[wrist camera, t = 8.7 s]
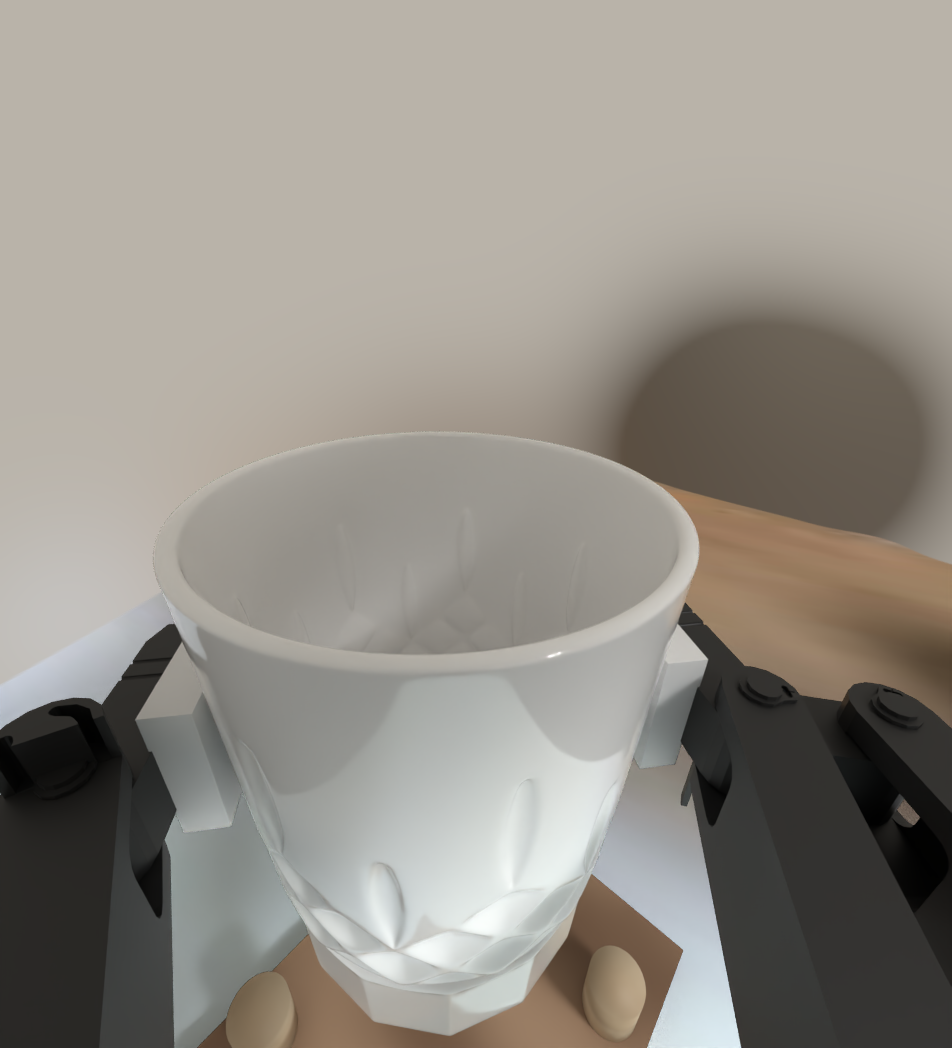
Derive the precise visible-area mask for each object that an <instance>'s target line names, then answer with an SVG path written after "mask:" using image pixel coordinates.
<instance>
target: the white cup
mask: <svg viewBox="0 0 952 1048" xmlns="http://www.w3.org/2000/svg"><path fill="white" fill-rule="evenodd" d="M698 559H699V540H698V535H697V531H696V529H695V526H694V524H693V522H692V520H691V518H690V516H689V515H688V513H687V512H686V511H685V509H684V508H683V507H682V506H681V505H680V503H679V502H678V501H677V500H676V499H675V498H674V497H673V496H671V495H670V494H669V493H668V492H667V491H666V490H664V489H663V488H662V487H660V486H659V485H657V484H656V483H655V482H653V481H651V480H650V479H648V478H646V477H645V476H643V475H641V474H639V473H638V472H636V471H633V470H632V469H630V468H627V467H625V466H623V465H621V464H618V463H616V462H614V461H611V460H609V459H606V458H603V457H600V456H597V455H595V454H592V453H588V452H585V451H582V450H578V449H575V448H571V447H567V446H563V445H558V444H554V443H549V442H544V441H539V440H533V439H527V438H521V437H513V436H505V435H496V434H483V433H470V432H404V433H390V434H378V435H368V436H360V437H352V438H346V439H340V440H333V441H328V442H323V443H318V444H314V445H309V446H304V447H300V448H297V449H293V450H289V451H285V452H282V453H278V454H275V455H272V456H269V457H266V458H263V459H260V460H257V461H255V462H252V463H250V464H247V465H245V466H242V467H240V468H238V469H235V470H233V471H231V472H229V473H227V474H225V475H223V476H221V477H219V478H217V479H215V480H214V481H212V482H210V483H209V484H207V485H205V486H204V487H202V488H201V489H199V490H198V491H197V492H195V493H194V494H192V495H191V496H190V497H189V498H187V499H186V500H185V501H184V502H183V503H182V504H181V505H180V506H178V507H177V508H176V510H175V511H174V512H173V513H172V514H171V515H170V516H169V518H168V519H167V520H166V522H165V523H164V525H163V526H162V528H161V530H160V532H159V534H158V536H157V539H156V542H155V546H154V552H153V565H154V571H155V575H156V578H157V581H158V584H159V586H160V589H161V591H162V594H163V596H164V598H165V601H166V603H167V606H168V608H169V611H170V613H171V615H172V618H173V620H174V623H175V625H176V628H177V630H178V633H179V635H180V638H181V640H182V642H183V645H184V647H185V650H186V652H187V655H188V657H189V660H190V662H191V665H192V667H193V670H194V672H195V674H196V677H197V679H198V682H199V684H200V687H201V689H202V692H203V694H204V697H205V699H206V702H207V704H208V707H209V709H210V712H211V714H212V717H213V719H214V722H215V724H216V727H217V729H218V732H219V734H220V737H221V739H222V742H223V744H224V747H225V749H226V752H227V754H228V757H229V760H230V762H231V765H232V767H233V770H234V772H235V775H236V777H237V780H238V782H239V785H240V787H241V790H242V793H243V795H244V798H245V800H246V803H247V805H248V808H249V810H250V813H251V815H252V818H253V820H254V822H255V825H256V827H257V830H258V832H259V834H260V836H261V838H262V840H263V842H264V844H265V845H266V847H267V849H268V851H269V854H270V857H271V859H272V862H273V864H274V867H275V869H276V871H277V874H278V876H279V878H280V881H281V883H282V885H283V888H284V890H285V891H286V893H287V895H288V897H289V898H290V900H291V902H292V903H293V905H294V907H295V908H296V910H297V912H298V913H299V915H300V917H301V918H302V920H303V921H304V923H305V925H306V928H307V931H308V933H309V936H310V939H311V942H312V945H313V947H314V950H315V953H316V956H317V958H318V961H319V963H320V965H321V967H322V968H323V969H324V970H325V971H326V972H327V973H328V974H329V975H330V977H331V978H332V979H333V980H334V981H335V982H336V983H337V984H338V985H339V986H340V987H341V988H342V989H343V990H344V991H345V992H346V993H347V994H348V995H349V996H350V997H351V998H352V1000H353V1001H354V1002H355V1003H356V1004H357V1005H358V1006H359V1007H360V1008H361V1009H362V1010H363V1011H364V1012H365V1013H366V1014H367V1015H368V1016H369V1017H370V1018H371V1019H372V1020H373V1021H374V1022H377V1023H382V1024H388V1025H393V1026H398V1027H404V1028H409V1029H414V1030H420V1031H425V1032H430V1033H435V1034H441V1035H446V1036H452V1035H454V1034H456V1033H458V1032H460V1031H463V1030H465V1029H467V1028H469V1027H471V1026H473V1025H475V1024H478V1023H480V1022H482V1021H484V1020H486V1019H488V1018H491V1017H493V1016H495V1015H497V1014H499V1013H501V1012H503V1011H506V1010H508V1009H510V1008H512V1007H514V1006H516V1005H518V1004H521V1003H522V1002H523V1001H524V1000H525V998H526V997H527V995H528V994H529V992H530V991H531V989H532V988H533V987H534V985H535V984H536V982H537V981H538V979H539V978H540V976H541V975H542V973H543V972H544V971H545V969H546V968H547V966H548V965H549V963H550V962H551V960H552V959H553V957H554V956H555V955H556V953H557V952H558V950H559V949H560V947H561V946H562V944H563V943H564V941H565V940H566V938H567V936H568V934H569V931H570V927H571V924H572V921H573V917H574V914H575V911H576V907H577V904H578V901H579V899H580V897H581V895H582V893H583V891H584V889H585V887H586V885H587V882H588V880H589V878H590V876H591V874H592V871H593V869H594V867H595V864H596V862H597V860H598V857H599V855H600V851H601V848H602V845H603V842H604V839H605V835H606V832H607V830H608V827H609V825H610V823H611V820H612V818H613V816H614V813H615V810H616V808H617V805H618V802H619V800H620V797H621V794H622V791H623V788H624V785H625V782H626V779H627V776H628V773H629V770H630V767H631V764H632V761H633V758H634V755H635V751H636V748H637V745H638V742H639V739H640V736H641V733H642V730H643V727H644V724H645V721H646V718H647V714H648V711H649V708H650V705H651V702H652V699H653V696H654V693H655V690H656V687H657V684H658V681H659V678H660V675H661V672H662V669H663V666H664V663H665V660H666V657H667V654H668V651H669V648H670V645H671V642H672V639H673V636H674V633H675V630H676V627H677V624H678V621H679V618H680V615H681V612H682V609H683V606H684V603H685V600H686V597H687V594H688V591H689V588H690V585H691V582H692V579H693V577H694V574H695V571H696V568H697V564H698Z"/></svg>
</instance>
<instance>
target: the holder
mask: <svg viewBox="0 0 952 1048" xmlns="http://www.w3.org/2000/svg"><path fill="white" fill-rule="evenodd" d="M682 953H683V950H682V949H681V948H680V947H679V946H678V945H676V944H675V943H674V942H673V941H672V940H670V939H669V938H668V937H667V936H666V935H664V934H663V933H662V932H661V931H660V930H658V929H657V928H656V927H655V926H654V925H652V924H651V923H650V922H649V921H648V920H646V919H645V918H644V917H643V916H642V915H640V914H639V913H638V912H637V911H636V910H634V909H633V908H632V907H631V906H630V905H628V904H627V903H626V902H625V901H624V900H622V899H621V898H620V897H619V896H617V895H616V894H615V893H614V892H613V891H611V890H610V889H609V888H608V887H607V886H605V885H604V884H603V883H602V882H601V881H599V880H598V879H597V878H596V877H595V876H593V875H592V874H591V876H590V878H589V880H588V882H587V885H586V887H585V889H584V891H583V893H582V895H581V897H580V899H579V901H578V904H577V907H576V911H575V914H574V917H573V921H572V924H571V927H570V931H569V934H568V936H567V938H566V940H565V941H564V943H563V944H562V946H561V947H560V949H559V950H558V952H557V953H556V955H555V956H554V957H553V959H552V960H551V962H550V963H549V965H548V966H547V968H546V969H545V971H544V972H543V973H542V975H541V976H540V978H539V979H538V981H537V982H536V984H535V985H534V987H533V988H532V989H531V991H530V992H529V994H528V995H527V997H526V998H525V1000H524V1001H523V1002H522V1003H521V1004H518V1005H516V1006H514V1007H512V1008H510V1009H508V1010H506V1011H503V1012H501V1013H499V1014H497V1015H495V1016H493V1017H491V1018H488V1019H486V1020H484V1021H482V1022H480V1023H478V1024H475V1025H473V1026H471V1027H469V1028H467V1029H465V1030H463V1031H460V1032H458V1033H456V1034H454V1035H452V1036H446V1035H441V1034H435V1033H430V1032H425V1031H420V1030H414V1029H409V1028H404V1027H398V1026H393V1025H388V1024H382V1023H377V1022H374V1021H373V1020H372V1019H371V1018H370V1017H369V1016H368V1015H367V1014H366V1013H365V1012H364V1011H363V1010H362V1009H361V1008H360V1007H359V1006H358V1005H357V1004H356V1003H355V1002H354V1001H353V1000H352V998H351V997H350V996H349V995H348V994H347V993H346V992H345V991H344V990H343V989H342V988H341V987H340V986H339V985H338V984H337V983H336V982H335V981H334V980H333V979H332V978H331V977H330V975H329V974H328V973H327V972H326V971H325V970H324V969H323V968H322V967H321V965H320V963H319V961H318V958H317V956H316V953H315V950H314V947H313V945H312V942H311V939H310V936H309V934H308V935H307V936H306V937H305V938H304V939H303V940H302V941H301V942H300V943H299V944H298V945H297V946H296V947H295V948H294V949H293V950H292V951H291V952H290V953H289V954H288V955H287V956H286V957H285V958H284V959H283V960H282V961H281V962H280V964H279V965H278V966H277V967H276V968H275V969H274V970H273V971H272V972H263V973H260V974H258V975H256V976H254V977H252V978H251V979H250V980H248V981H247V982H246V983H245V984H244V985H243V986H242V987H241V989H240V990H239V991H238V993H237V994H236V996H235V997H234V999H233V1001H232V1003H231V1005H230V1008H229V1011H228V1014H227V1018H226V1019H225V1020H224V1021H223V1022H222V1023H221V1024H220V1025H219V1026H218V1027H217V1028H216V1029H215V1030H214V1031H213V1032H212V1033H211V1034H210V1035H209V1036H208V1037H207V1038H206V1039H205V1040H204V1041H203V1042H202V1043H201V1044H200V1045H199V1046H198V1047H197V1048H647V1046H648V1043H649V1041H650V1038H651V1035H652V1033H653V1030H654V1027H655V1025H656V1022H657V1019H658V1017H659V1014H660V1011H661V1009H662V1006H663V1003H664V1001H665V998H666V995H667V993H668V990H669V987H670V985H671V982H672V979H673V977H674V974H675V971H676V969H677V966H678V963H679V961H680V958H681V955H682Z"/></svg>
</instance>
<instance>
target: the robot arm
mask: <svg viewBox="0 0 952 1048" xmlns="http://www.w3.org/2000/svg"><path fill="white" fill-rule="evenodd" d="M681 744H683V746H684V747H685V749H686V751H687V752H688V754H689V755H690V757H691V758H692V760H693V762H692V765H691V768H690V771H689V774H688V777H687V780H686V783H685V785H684V788H683V791H682V794H681V805H683V806H687V804H688V802H689V799H690V796H691V793H692V796H693V801H694V806H695V811H696V816H697V822H698V827H699V832H700V837H701V842H702V847H703V853H704V858H705V863H706V868H707V873H708V878H709V883H710V889H711V894H712V899H713V904H714V909H715V914H716V920H717V925H718V930H719V935H720V940H721V945H722V951H723V956H724V961H725V966H726V971H727V976H728V981H729V987H730V992H731V997H732V1002H733V1007H734V1012H735V1018H736V1023H737V1028H738V1033H739V1038H740V1043H741V1048H952V728H951V727H949V726H948V725H947V724H946V723H945V722H944V721H943V720H942V719H941V718H939V717H938V716H937V715H936V714H935V713H934V712H933V711H931V710H930V709H929V708H927V707H926V706H925V705H923V704H922V703H921V702H919V701H918V700H916V699H915V698H913V697H911V696H909V695H907V694H905V693H903V692H901V691H899V690H896V689H894V688H890V687H887V686H884V685H881V684H874V683H867V682H864V683H858V684H854V685H853V686H852V687H851V688H850V689H849V690H848V692H847V694H846V695H845V697H844V699H843V701H842V702H841V701H834V700H827V699H821V698H814V697H807V696H801V695H799V693H798V692H797V691H796V689H795V688H794V687H792V686H791V685H790V684H789V683H787V682H786V681H785V680H783V679H782V678H780V677H778V676H776V675H774V674H772V673H770V672H768V671H766V670H762V669H759V668H755V667H751V666H744V665H743V664H742V663H741V662H740V660H739V659H738V658H737V657H736V656H735V655H734V654H733V653H732V652H731V651H730V650H729V649H728V648H727V647H726V646H725V644H724V643H723V642H722V641H721V640H720V639H719V638H718V637H717V636H716V635H715V634H714V633H713V632H712V631H711V630H710V629H709V627H708V626H707V625H704V624H703V621H702V620H701V619H700V618H699V617H698V616H697V615H696V614H695V613H693V612H692V609H691V608H690V607H689V606H688V605H687V604H686V603H684V606H683V609H682V612H681V615H680V618H679V621H678V624H677V627H676V630H675V633H674V636H673V639H672V642H671V645H670V648H669V651H668V654H667V657H666V660H665V663H664V666H663V669H662V672H661V675H660V678H659V681H658V684H657V687H656V690H655V693H654V696H653V699H652V702H651V705H650V708H649V711H648V714H647V718H646V721H645V724H644V727H643V730H642V733H641V736H640V739H639V742H638V745H637V748H636V751H635V755H634V759H635V761H636V763H637V765H638V767H639V769H644V768H651V767H658V766H665V765H673V764H675V763H676V760H677V757H678V754H679V750H680V747H681ZM0 793H1V795H0V1048H174V1022H173V970H172V919H171V867H170V854H169V851H168V848H167V845H166V843H165V840H164V839H165V837H166V834H167V832H168V830H169V827H170V825H171V822H172V820H173V818H174V815H175V814H176V816H177V818H178V821H179V823H180V825H181V828H182V830H183V832H184V833H190V832H197V831H204V830H211V829H218V828H225V827H231V826H232V823H233V820H234V816H235V813H236V810H237V806H238V803H239V800H240V797H241V793H242V790H241V787H240V785H239V782H238V780H237V777H236V775H235V772H234V770H233V767H232V765H231V762H230V760H229V757H228V754H227V752H226V749H225V747H224V744H223V742H222V739H221V737H220V734H219V732H218V729H217V727H216V724H215V722H214V719H213V717H212V714H211V712H210V709H209V707H208V704H207V702H206V699H205V697H204V694H203V692H202V689H201V687H200V684H199V682H198V679H197V677H196V674H195V672H194V670H193V667H192V665H191V662H190V660H189V657H188V655H187V652H186V650H185V647H184V645H183V642H182V640H181V638H180V635H179V633H178V630H177V628H176V625H175V624H169V625H167V626H166V627H165V628H163V629H162V630H161V631H159V632H158V633H157V634H156V635H154V636H153V637H152V638H150V639H149V640H148V641H146V643H145V644H144V646H143V647H142V648H141V650H140V651H139V653H138V654H137V656H136V657H135V658H134V660H133V664H130V666H129V667H128V668H127V670H126V671H125V673H124V674H123V675H122V680H121V681H118V683H117V684H116V685H115V687H114V688H113V690H112V691H111V693H110V694H109V695H108V697H107V698H106V700H105V701H104V702H103V704H102V705H101V704H99V703H97V702H96V701H94V700H92V699H89V698H70V699H65V700H60V701H55V702H51V703H49V704H46V705H44V706H41V707H39V708H36V709H34V710H31V711H29V712H27V713H25V714H24V715H22V716H20V717H19V718H17V719H15V720H14V721H12V722H10V723H9V724H7V725H5V726H4V727H3V728H2V729H1V730H0ZM904 799H905V800H906V801H907V803H908V804H909V805H910V806H911V807H912V808H913V809H914V811H915V812H916V813H917V814H918V815H919V816H920V819H919V820H918V821H917V823H916V824H915V825H912V824H910V823H909V822H907V821H906V820H905V819H904V818H903V817H902V816H901V814H900V813H899V812H898V811H897V809H898V807H899V806H900V804H901V803H902V801H903V800H904Z"/></svg>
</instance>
